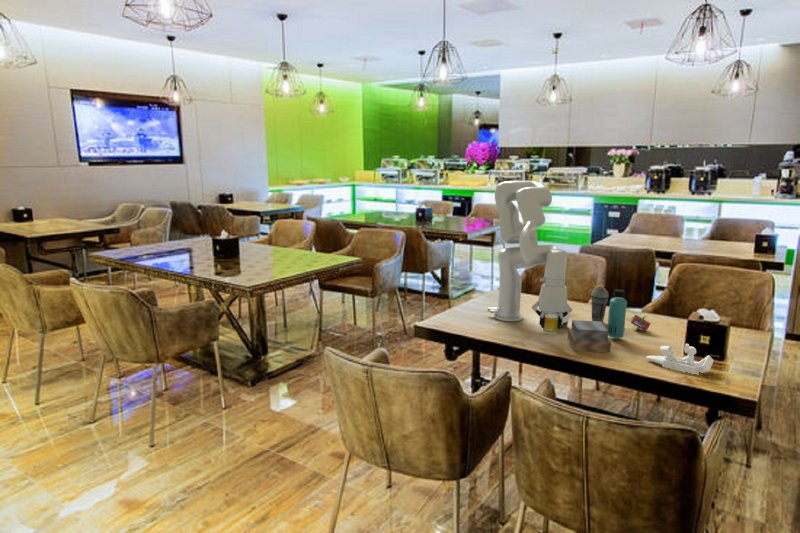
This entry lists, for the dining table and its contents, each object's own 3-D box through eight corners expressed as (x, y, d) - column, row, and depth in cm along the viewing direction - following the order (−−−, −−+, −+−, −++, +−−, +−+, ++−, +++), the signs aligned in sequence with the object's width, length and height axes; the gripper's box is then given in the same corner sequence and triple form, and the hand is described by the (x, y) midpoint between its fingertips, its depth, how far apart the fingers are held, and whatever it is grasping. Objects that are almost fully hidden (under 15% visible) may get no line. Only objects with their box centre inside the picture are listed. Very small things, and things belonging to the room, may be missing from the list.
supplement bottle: (554, 335, 198) (556, 311, 195) (540, 332, 200) (542, 308, 198) (558, 331, 202) (560, 307, 200) (544, 328, 205) (546, 304, 203)
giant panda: (561, 323, 225) (562, 301, 223) (570, 326, 221) (572, 305, 218) (533, 327, 219) (535, 305, 217) (542, 331, 215) (544, 309, 212)
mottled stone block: (573, 350, 194) (575, 330, 192) (567, 338, 207) (569, 319, 205) (609, 352, 192) (612, 331, 191) (601, 340, 205) (603, 320, 203)
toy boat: (649, 356, 190) (652, 332, 188) (712, 370, 178) (716, 345, 176) (641, 365, 181) (644, 341, 179) (707, 381, 169) (711, 355, 167)
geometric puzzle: (656, 326, 215) (646, 309, 217) (651, 330, 210) (640, 312, 212) (641, 333, 220) (631, 316, 222) (635, 337, 215) (624, 319, 217)
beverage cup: (603, 319, 230) (607, 275, 226) (608, 324, 223) (612, 279, 219) (586, 318, 231) (590, 275, 227) (590, 324, 224) (594, 278, 220)
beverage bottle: (623, 337, 209) (628, 288, 204) (624, 342, 203) (629, 292, 198) (605, 335, 211) (610, 287, 206) (606, 340, 205) (610, 291, 200)
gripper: (532, 283, 194) (528, 329, 198) (579, 285, 192) (575, 332, 196) (529, 278, 201) (526, 322, 206) (576, 280, 199) (571, 325, 203)
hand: (550, 326), depth 201 cm, fingers closed on supplement bottle, 5 cm apart
